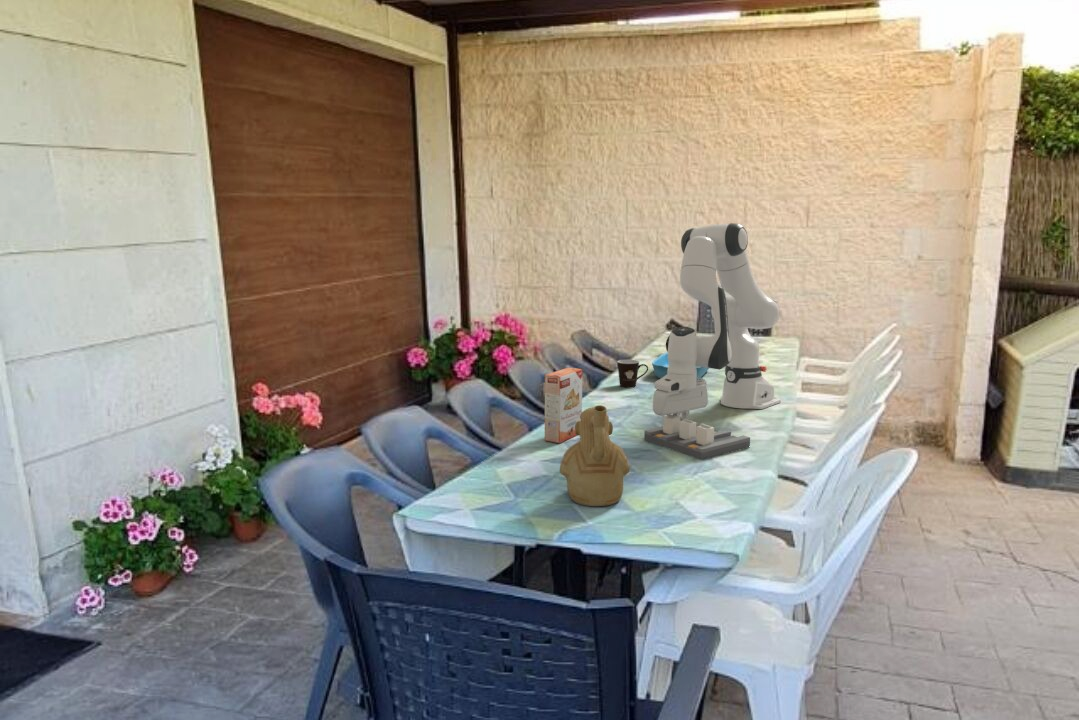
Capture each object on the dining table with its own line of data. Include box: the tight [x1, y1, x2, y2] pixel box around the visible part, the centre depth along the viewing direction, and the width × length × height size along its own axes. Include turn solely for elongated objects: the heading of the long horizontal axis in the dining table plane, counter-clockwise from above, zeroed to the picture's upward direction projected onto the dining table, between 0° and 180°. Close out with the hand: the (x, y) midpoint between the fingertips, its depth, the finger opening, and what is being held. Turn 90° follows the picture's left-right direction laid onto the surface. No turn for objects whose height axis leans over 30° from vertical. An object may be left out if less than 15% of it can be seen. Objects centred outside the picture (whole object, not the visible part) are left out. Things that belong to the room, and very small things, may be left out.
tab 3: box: [696, 423, 715, 445], centre depth 228 cm, size 3×4×6 cm
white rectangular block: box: [679, 418, 698, 440], centre depth 233 cm, size 3×4×6 cm
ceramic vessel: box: [559, 404, 631, 507], centre depth 190 cm, size 17×20×25 cm
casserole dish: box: [651, 352, 710, 379], centre depth 336 cm, size 37×22×7 cm, turn 157°
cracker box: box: [544, 367, 584, 444], centre depth 242 cm, size 14×6×21 cm, turn 148°
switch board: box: [643, 420, 751, 461], centre depth 236 cm, size 20×24×3 cm
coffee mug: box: [616, 359, 649, 389], centre depth 313 cm, size 12×9×10 cm
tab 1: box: [662, 414, 681, 434], centre depth 239 cm, size 3×4×6 cm
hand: (680, 425), depth 241 cm, fingers closed
